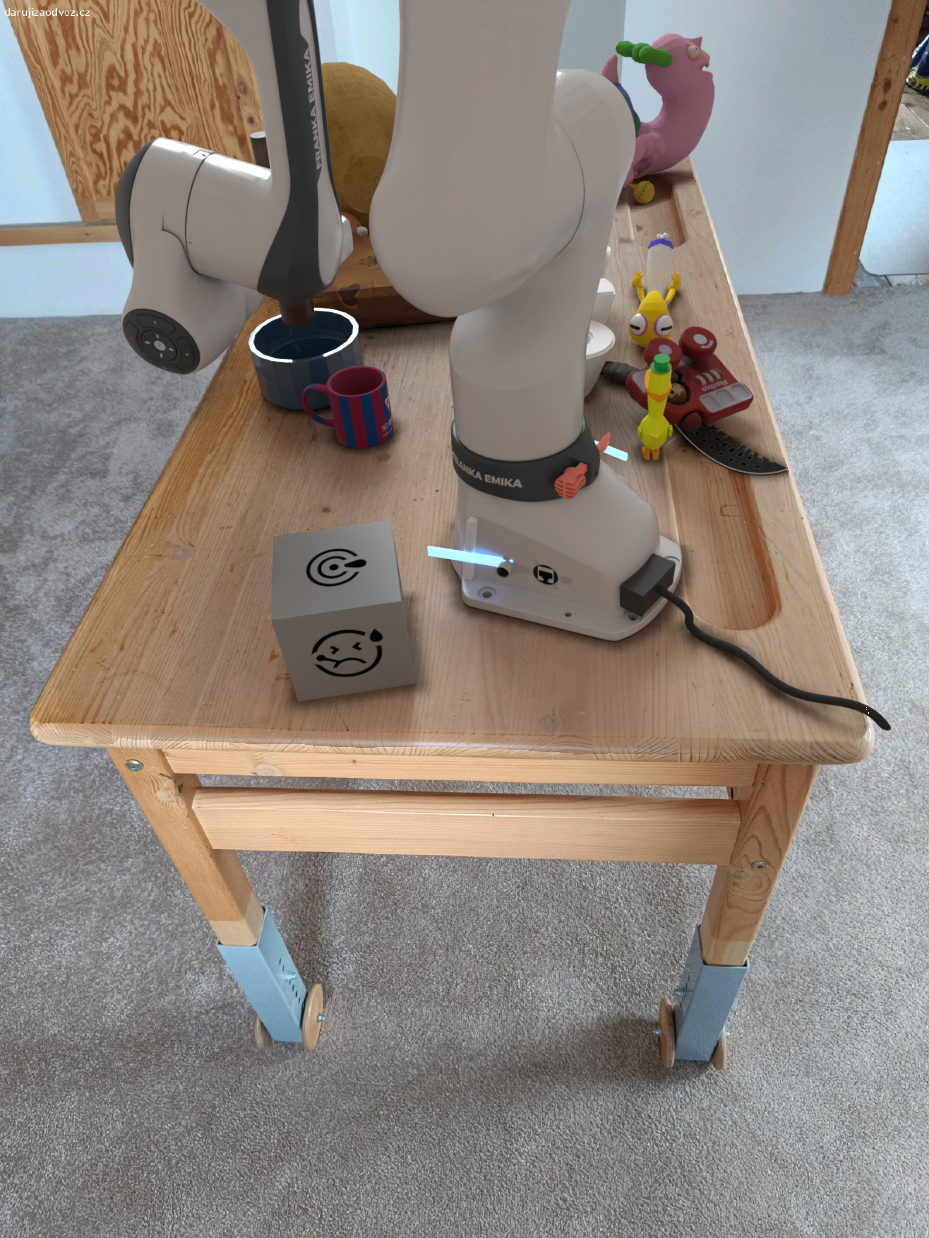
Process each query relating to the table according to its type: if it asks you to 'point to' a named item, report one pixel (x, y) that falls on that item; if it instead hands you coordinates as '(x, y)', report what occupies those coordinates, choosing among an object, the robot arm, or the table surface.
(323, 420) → the cup
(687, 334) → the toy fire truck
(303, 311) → the cylinder
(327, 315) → the bowl
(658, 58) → the toy
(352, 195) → the tan rounded lump
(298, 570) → the icon cube
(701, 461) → the table surface
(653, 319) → the character
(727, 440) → the knife
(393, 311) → the carved wooden box
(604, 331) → the wavy white extrusion
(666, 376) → the toy figure
